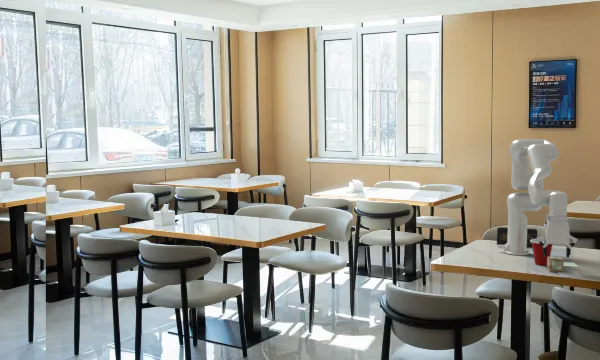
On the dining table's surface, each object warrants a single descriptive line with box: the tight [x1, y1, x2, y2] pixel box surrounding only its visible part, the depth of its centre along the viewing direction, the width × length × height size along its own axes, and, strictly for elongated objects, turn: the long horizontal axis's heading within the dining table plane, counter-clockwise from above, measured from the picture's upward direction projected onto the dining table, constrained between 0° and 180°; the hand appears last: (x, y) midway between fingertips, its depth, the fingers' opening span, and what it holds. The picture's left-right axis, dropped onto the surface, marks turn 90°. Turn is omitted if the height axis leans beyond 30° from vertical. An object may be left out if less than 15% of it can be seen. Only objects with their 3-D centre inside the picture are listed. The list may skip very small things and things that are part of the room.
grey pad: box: [557, 271, 584, 279], centre depth 290 cm, size 9×9×1 cm
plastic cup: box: [530, 237, 554, 267], centre depth 312 cm, size 11×11×12 cm
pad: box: [564, 261, 579, 268], centre depth 313 cm, size 9×9×1 cm
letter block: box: [546, 256, 565, 273], centre depth 298 cm, size 6×6×6 cm
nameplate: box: [496, 226, 538, 248], centre depth 359 cm, size 21×2×10 cm, turn 77°
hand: (556, 256), depth 297 cm, fingers open, 9 cm apart
